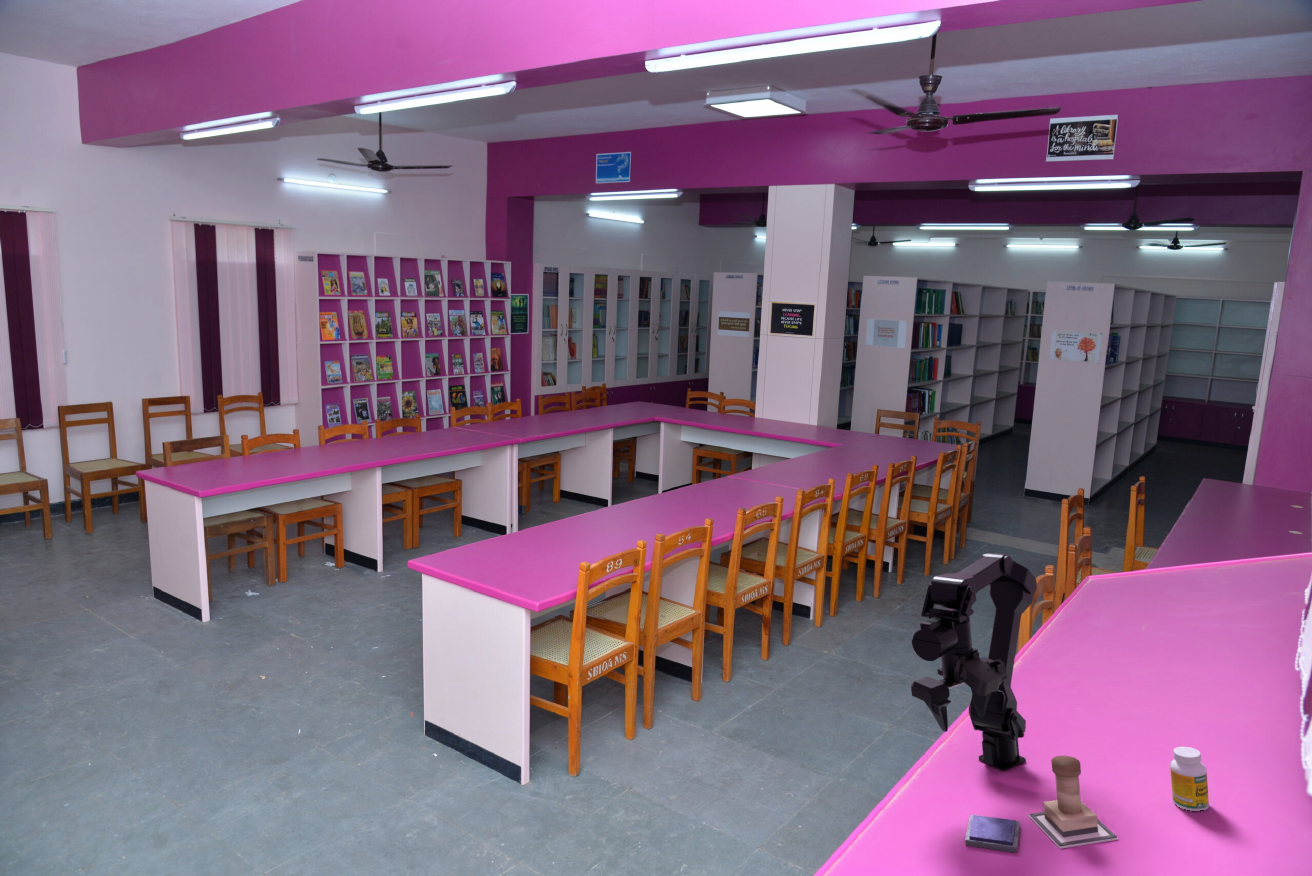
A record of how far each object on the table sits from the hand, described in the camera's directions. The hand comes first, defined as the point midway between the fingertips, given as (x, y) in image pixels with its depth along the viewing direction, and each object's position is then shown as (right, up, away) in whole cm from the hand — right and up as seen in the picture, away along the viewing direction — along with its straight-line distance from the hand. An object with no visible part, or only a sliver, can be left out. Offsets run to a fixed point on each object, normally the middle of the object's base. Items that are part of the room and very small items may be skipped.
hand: (963, 723), depth 157 cm
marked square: (+13, -13, -14) cm, 23 cm away
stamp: (+13, -12, -14) cm, 23 cm away
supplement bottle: (+35, -10, -12) cm, 38 cm away
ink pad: (0, -14, -14) cm, 20 cm away
